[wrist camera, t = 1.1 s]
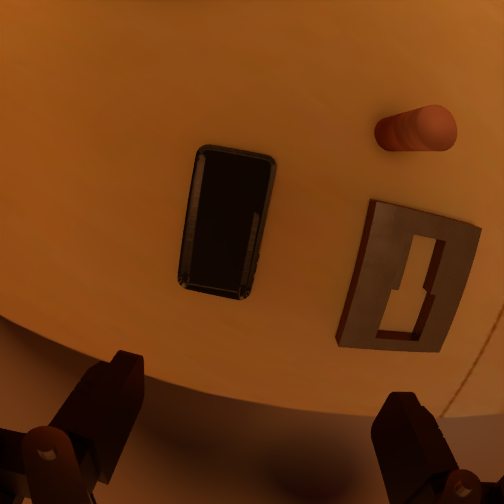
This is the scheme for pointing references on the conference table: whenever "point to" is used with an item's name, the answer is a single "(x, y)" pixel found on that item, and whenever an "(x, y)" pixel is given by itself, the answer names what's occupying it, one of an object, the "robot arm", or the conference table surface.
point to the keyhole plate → (391, 271)
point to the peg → (418, 130)
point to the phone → (225, 220)
